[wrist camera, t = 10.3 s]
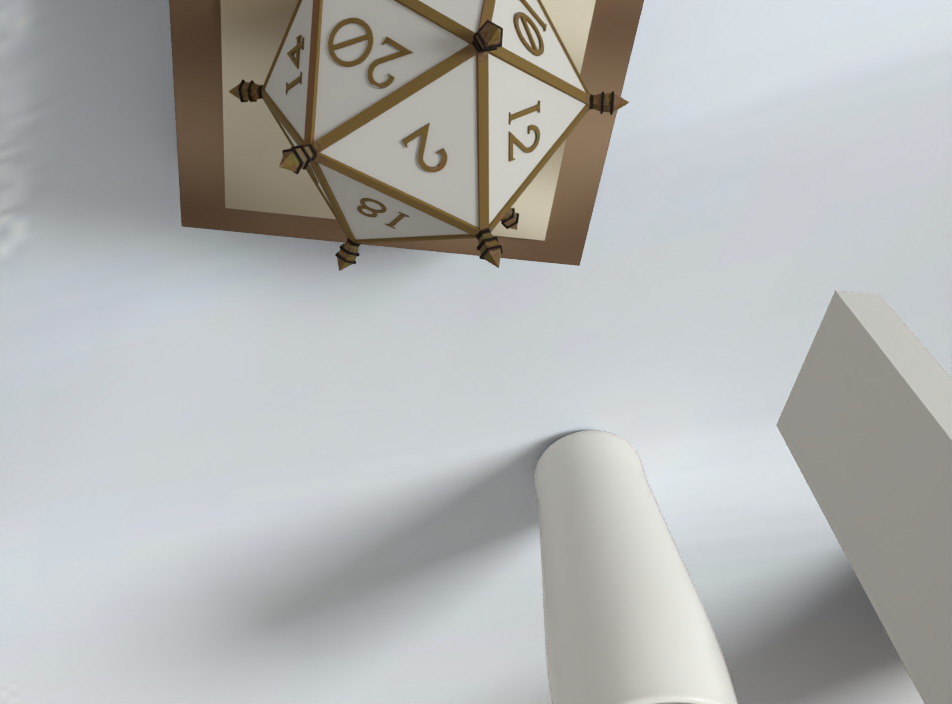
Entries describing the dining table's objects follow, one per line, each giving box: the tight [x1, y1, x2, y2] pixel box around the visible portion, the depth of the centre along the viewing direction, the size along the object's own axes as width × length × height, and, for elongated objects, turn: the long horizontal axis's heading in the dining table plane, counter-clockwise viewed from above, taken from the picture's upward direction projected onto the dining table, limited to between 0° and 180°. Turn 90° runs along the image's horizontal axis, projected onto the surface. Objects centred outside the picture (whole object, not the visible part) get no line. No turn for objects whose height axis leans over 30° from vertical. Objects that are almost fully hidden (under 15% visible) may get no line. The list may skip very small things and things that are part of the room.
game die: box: [228, 0, 629, 271], centre depth 21 cm, size 9×8×10 cm
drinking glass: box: [534, 430, 738, 704], centre depth 37 cm, size 7×7×15 cm
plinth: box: [169, 0, 644, 266], centre depth 27 cm, size 15×15×6 cm
